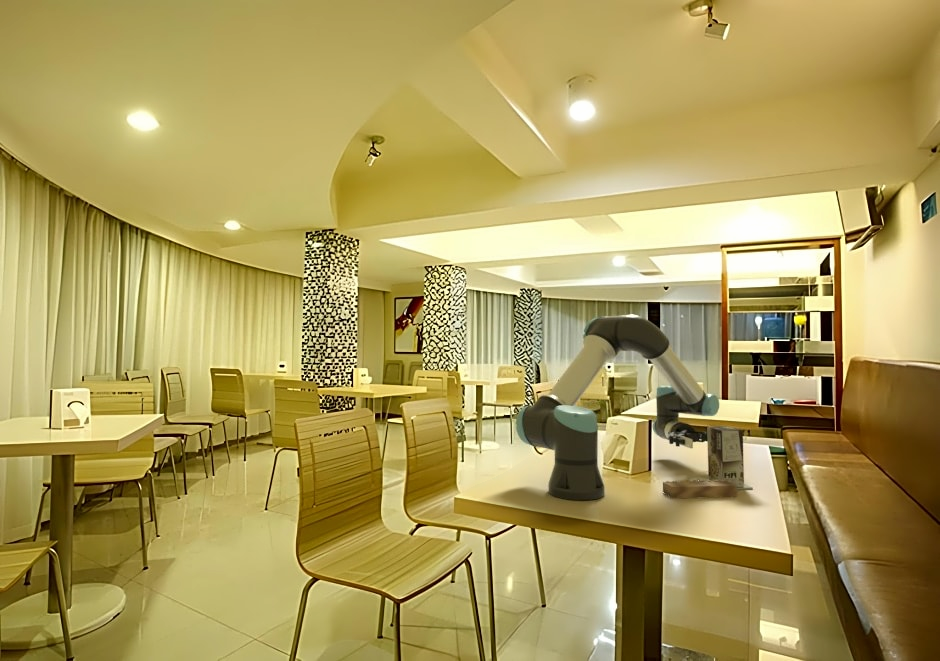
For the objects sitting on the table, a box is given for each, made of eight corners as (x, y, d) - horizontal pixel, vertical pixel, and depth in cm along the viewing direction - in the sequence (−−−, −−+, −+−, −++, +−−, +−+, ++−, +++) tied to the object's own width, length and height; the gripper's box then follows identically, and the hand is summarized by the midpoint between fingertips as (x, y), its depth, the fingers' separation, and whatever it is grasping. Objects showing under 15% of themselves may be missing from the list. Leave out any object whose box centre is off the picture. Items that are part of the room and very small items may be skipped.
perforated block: (672, 498, 137) (672, 485, 138) (662, 492, 143) (662, 480, 143) (737, 496, 139) (736, 484, 139) (725, 491, 144) (725, 479, 144)
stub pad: (717, 490, 146) (717, 488, 146) (697, 480, 157) (697, 478, 157) (752, 489, 147) (752, 487, 147) (730, 479, 158) (730, 478, 158)
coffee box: (745, 487, 147) (744, 430, 147) (722, 487, 147) (721, 430, 147) (728, 479, 156) (727, 425, 156) (707, 479, 156) (706, 425, 156)
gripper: (715, 443, 181) (752, 455, 159) (645, 444, 179) (673, 456, 158) (714, 421, 181) (751, 430, 160) (645, 422, 179) (673, 431, 158)
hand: (713, 443), depth 159 cm, fingers open, 13 cm apart
